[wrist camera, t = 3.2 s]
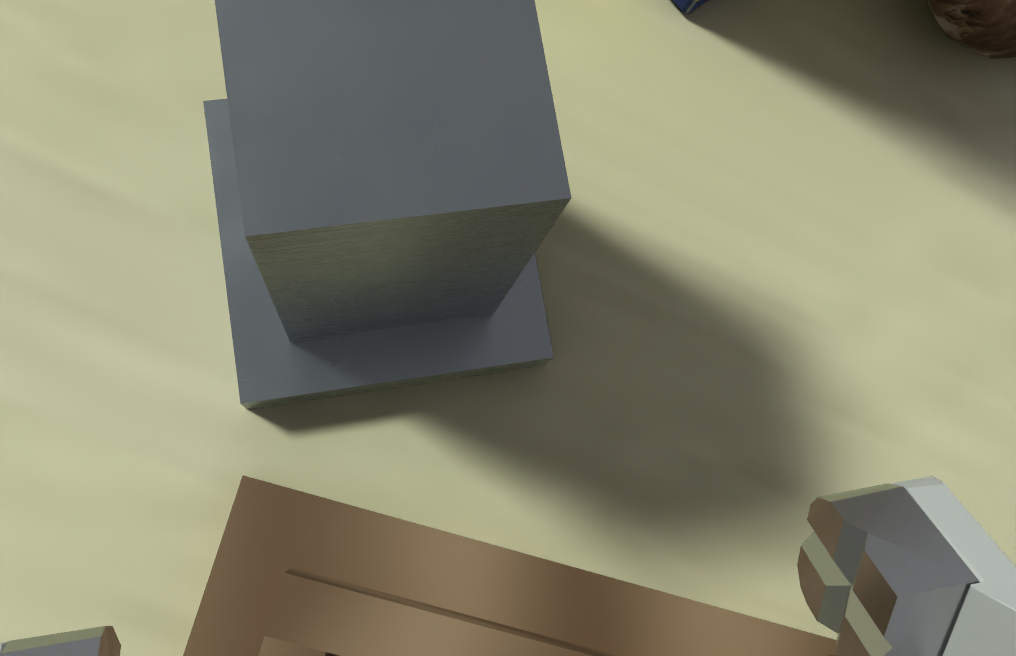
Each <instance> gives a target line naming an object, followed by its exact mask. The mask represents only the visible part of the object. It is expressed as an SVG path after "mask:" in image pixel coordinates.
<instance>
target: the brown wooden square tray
mask: <svg viewBox="0 0 1016 656" xmlns="http://www.w3.org/2000/svg"><path fill="white" fill-rule="evenodd" d="M836 642H837V640H834V639H830V638H826V637H823V636H819V635H816V634H812V633H808V632H805V631H801V630H798V629H794V628H790V627H787V626H783V625H780V624H776V623H772V622H769V621H765V620H762V619H758V618H754V617H751V616H747V615H744V614H740V613H736V612H733V611H729V610H726V609H722V608H718V607H715V606H711V605H708V604H704V603H700V602H697V601H693V600H689V599H686V598H682V597H679V596H675V595H671V594H668V593H664V592H661V591H657V590H653V589H650V588H646V587H643V586H639V585H635V584H632V583H628V582H625V581H621V580H617V579H614V578H610V577H607V576H603V575H599V574H596V573H592V572H589V571H585V570H581V569H578V568H574V567H571V566H567V565H563V564H560V563H556V562H553V561H549V560H545V559H542V558H538V557H535V556H531V555H527V554H524V553H520V552H517V551H513V550H509V549H506V548H502V547H499V546H495V545H491V544H488V543H484V542H481V541H477V540H473V539H470V538H466V537H463V536H459V535H455V534H452V533H448V532H445V531H441V530H437V529H434V528H430V527H427V526H423V525H419V524H416V523H412V522H409V521H405V520H401V519H398V518H394V517H391V516H387V515H383V514H380V513H376V512H373V511H369V510H365V509H362V508H358V507H355V506H351V505H347V504H344V503H340V502H337V501H333V500H329V499H326V498H322V497H319V496H315V495H311V494H308V493H304V492H301V491H297V490H293V489H290V488H286V487H283V486H279V485H275V484H272V483H268V482H265V481H261V480H257V479H254V478H250V477H247V476H242V479H241V482H240V485H239V488H238V491H237V494H236V498H235V501H234V504H233V507H232V510H231V513H230V516H229V519H228V522H227V525H226V528H225V531H224V534H223V537H222V540H221V543H220V546H219V549H218V552H217V555H216V558H215V561H214V564H213V567H212V570H211V573H210V576H209V579H208V582H207V585H206V588H205V591H204V594H203V597H202V600H201V603H200V606H199V609H198V612H197V616H196V619H195V622H194V625H193V628H192V631H191V634H190V637H189V640H188V643H187V646H186V649H185V652H184V655H183V656H838V655H837V654H836V652H835V649H836Z"/></svg>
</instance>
